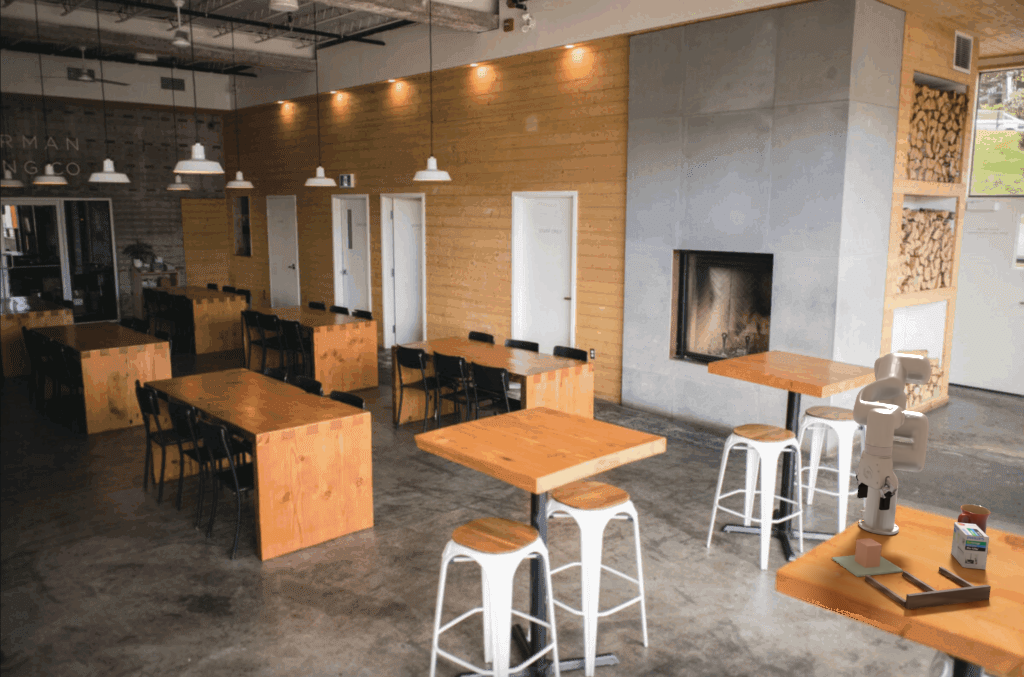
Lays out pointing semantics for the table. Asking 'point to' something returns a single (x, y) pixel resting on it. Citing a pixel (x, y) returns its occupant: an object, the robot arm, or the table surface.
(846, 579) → the table surface
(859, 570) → the mat
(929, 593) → the lane rack
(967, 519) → the mug
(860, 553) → the block
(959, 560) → the light bulb box
